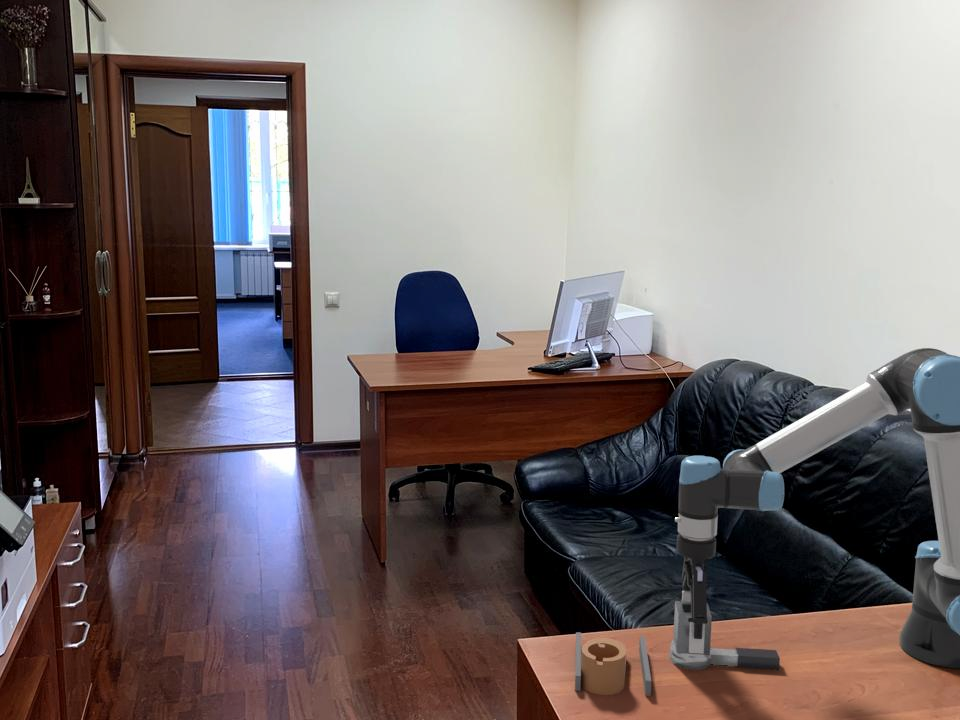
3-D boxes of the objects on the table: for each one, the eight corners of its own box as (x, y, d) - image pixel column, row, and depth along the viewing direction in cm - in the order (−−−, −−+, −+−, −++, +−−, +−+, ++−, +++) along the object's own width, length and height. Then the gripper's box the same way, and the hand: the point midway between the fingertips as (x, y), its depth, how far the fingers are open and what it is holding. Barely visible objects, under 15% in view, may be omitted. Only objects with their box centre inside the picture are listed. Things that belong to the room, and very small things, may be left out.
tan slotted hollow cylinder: (623, 698, 163) (624, 663, 162) (578, 693, 164) (579, 658, 163) (626, 652, 180) (627, 620, 179) (586, 648, 182) (587, 616, 181)
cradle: (643, 650, 181) (644, 636, 180) (650, 695, 163) (651, 680, 163) (575, 645, 182) (576, 632, 182) (575, 690, 165) (575, 675, 164)
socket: (673, 638, 180) (675, 601, 179) (705, 640, 179) (707, 602, 178) (676, 652, 174) (678, 614, 172) (709, 655, 173) (711, 616, 172)
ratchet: (772, 656, 179) (775, 623, 178) (781, 676, 171) (783, 642, 170) (668, 649, 181) (669, 617, 180) (672, 668, 173) (673, 635, 172)
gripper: (671, 513, 186) (666, 608, 189) (684, 557, 161) (679, 665, 164) (707, 515, 185) (702, 610, 188) (726, 559, 160) (720, 667, 163)
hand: (691, 636), depth 176 cm, fingers open, 13 cm apart
